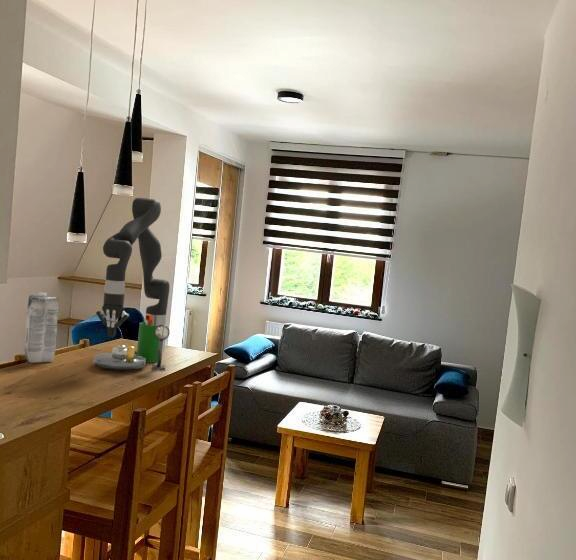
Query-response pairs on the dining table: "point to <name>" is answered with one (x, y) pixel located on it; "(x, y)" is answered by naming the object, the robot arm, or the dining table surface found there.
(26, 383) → the dining table surface
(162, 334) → the metal disc on rod
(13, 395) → the dining table surface
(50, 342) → the juice carton
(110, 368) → the turntable base
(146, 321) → the robot arm
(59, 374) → the dining table surface
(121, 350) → the cover
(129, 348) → the turntable
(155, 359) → the green bottle
